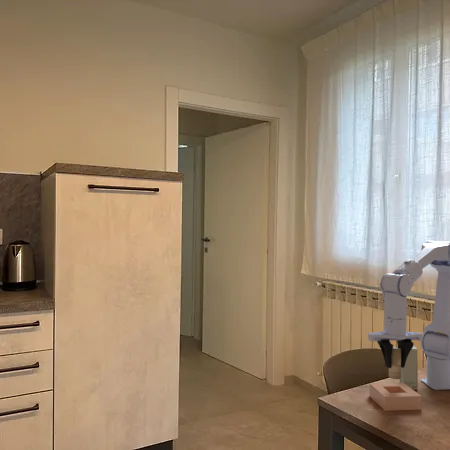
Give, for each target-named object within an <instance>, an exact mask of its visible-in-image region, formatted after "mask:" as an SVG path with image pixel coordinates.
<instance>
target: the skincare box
mask: <svg viewBox="0 0 450 450" xmlns="http://www.w3.org/2000/svg"><path fill="white" fill-rule="evenodd" d="M418 376H419V375H418V348H417V347H416V345H414V346H413V348H412V349H411V351H410V352H409V354H408V357H407V360H406V363H405V367H404V368H402V367H401V379H399V383H405V384H406V385H407V386H409V387H410V388H411V389H413V390H414V391H415V390H419V383H418V381H419V380H418V379H419V378H418Z"/></svg>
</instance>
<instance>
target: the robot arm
mask: <svg viewBox="0 0 450 450" xmlns="http://www.w3.org/2000/svg"><path fill="white" fill-rule="evenodd" d="M429 265H430V267H432V268H434V269H435V270H436V271H437V280H436V289H435V297H434V304H433V306H434V307H433V313H432V321H431V323H428V324H427V325H425V326H424V328H423V331H422V333H421V332H419V331H407V313H408V312H407V308H408V307H407V306H408V305H407V304H408V303H407V302H408V300H407V296H408V295H410V293H411V291H412V288H413V287H414V283H415V282H416V281H417V280H418V279H419V278H421V277H422V275H423V271H424V270H423V269H424V268H426V267H428V266H429ZM379 288H380V291H381V293H382V294H381V296H382V300H384V301H383V302H384V304H383V305H384V306H383V307H384V308H383V310H384V311H383V312H384V313H383V317H384V319H383V321H384V322H383V323H384V324H383V325H384V327H383V331H376V332H375V331H374V332H368V333H367V335H368V337H367V340H368V341H370V342H372V343H373V342H374V343H375V341H376V342H377V344H378V346H379V348H380V350H381V353H382V356H383V360H384V365H385V367H387V368H388V369H389V368H391V365H392V362H391V356H392V349H393V347H394V344H392V342H391V341H396V343H397V347H399V348H401V367H402V368H404V367H405V363H406V360H407V357H408V354H409V352H410V351H411V349H412V348H413V346H415V345H414V343H415V342H413V341H419V342H420V343H419V344H420V347H421V349H422V351H423V352H424V355H426V378H420V382H422V383H424V384H425V385H426V386H428V387H429V388H431V389H433V390H435V391H436V390H438V391H439V390H450V241H443V240H429V239H428V240H426V241H424V243H422V244H421V251H420V252H419V253H418V254H417V255H416V256H415V257H414V258H413V259H405V260H404V261H403V263H402V264H401V265H399V266H397V268H396V269H395V270H394V271H392V272H391V273H389V272H387V273H386V274H384V275H382V277H381V280H380V283H379Z"/></svg>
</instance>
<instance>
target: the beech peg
mask: <svg viewBox="0 0 450 450" xmlns="http://www.w3.org/2000/svg"><path fill="white" fill-rule="evenodd" d="M391 362H392V365H391V368H388V378H389V379H392V380H400V379H401V348H399V347H398V346H393V349H392V356H391Z"/></svg>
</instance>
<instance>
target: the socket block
mask: <svg viewBox="0 0 450 450" xmlns="http://www.w3.org/2000/svg"><path fill="white" fill-rule="evenodd" d="M369 397H370V398H371V399H372V401H374V402H375V403H376V404H377V405H378V406H379V407H381V409H383V410H384V411H385V412H388V411H413V410H414V411H419V410H422V401H423V400H422V395H421V394H420V393H418V392H416V391H415V390H414V389H411V388H410V387H409V386H407V385H406V384H405V383H400V382H378V383H377V382H376V383H375V382H374V383H369Z"/></svg>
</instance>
